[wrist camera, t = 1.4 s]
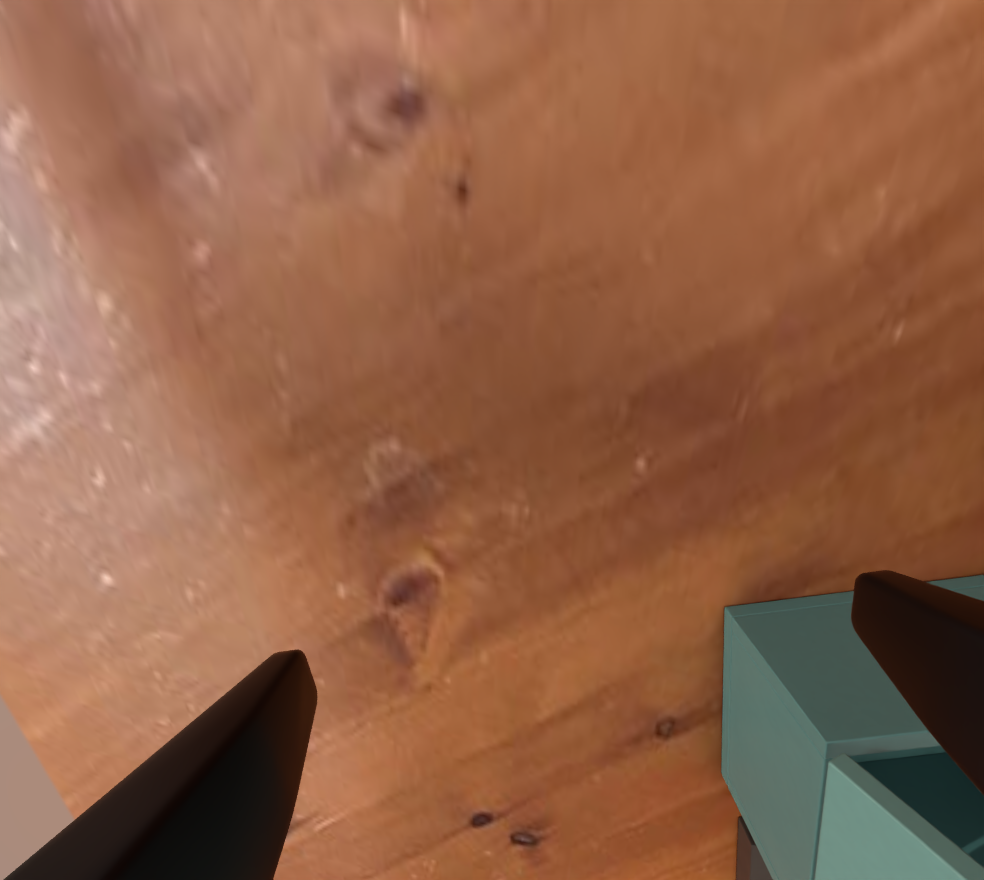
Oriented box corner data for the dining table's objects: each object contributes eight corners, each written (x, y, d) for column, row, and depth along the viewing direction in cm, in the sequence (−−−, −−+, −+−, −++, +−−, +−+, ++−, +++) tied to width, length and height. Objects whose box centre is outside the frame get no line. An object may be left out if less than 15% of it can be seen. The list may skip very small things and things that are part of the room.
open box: (1003, 571, 23) (1231, 696, 16) (961, 745, 26) (1132, 909, 19) (723, 606, 23) (826, 743, 16) (720, 772, 27) (803, 943, 20)
